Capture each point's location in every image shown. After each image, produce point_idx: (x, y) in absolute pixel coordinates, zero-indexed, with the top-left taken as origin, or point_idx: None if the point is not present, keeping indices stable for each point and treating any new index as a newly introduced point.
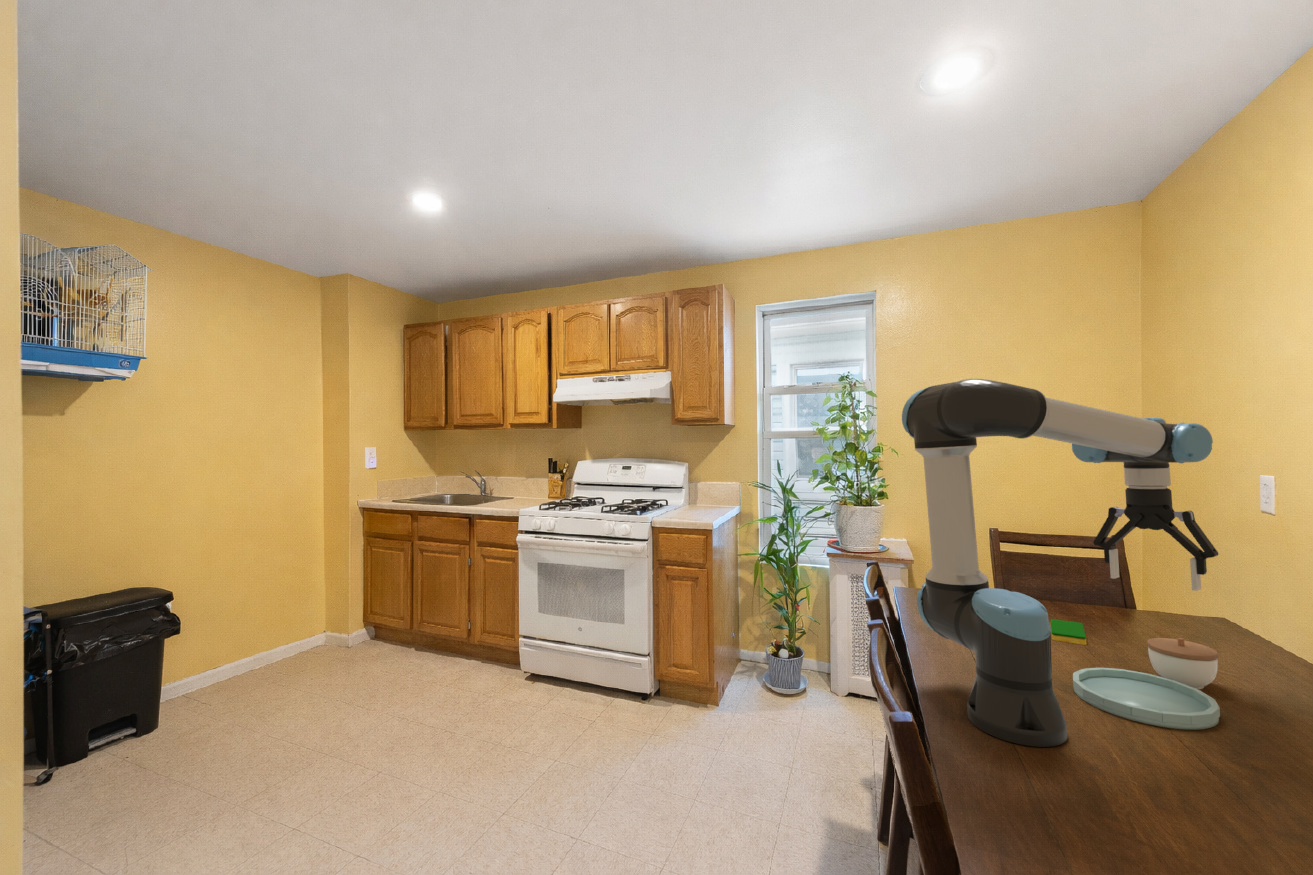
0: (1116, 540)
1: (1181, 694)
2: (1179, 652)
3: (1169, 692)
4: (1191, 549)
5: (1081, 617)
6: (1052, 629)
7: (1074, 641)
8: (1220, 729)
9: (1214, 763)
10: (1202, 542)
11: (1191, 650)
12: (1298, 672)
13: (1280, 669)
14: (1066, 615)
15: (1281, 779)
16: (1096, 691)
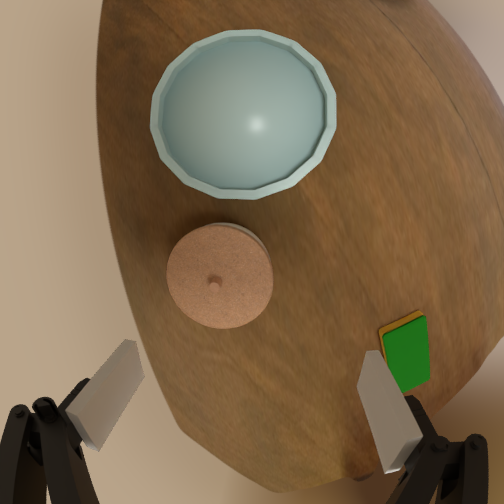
0: (405, 493)
1: (207, 174)
2: (205, 230)
3: (220, 167)
4: (50, 444)
5: None
6: (426, 332)
7: (394, 324)
8: None
9: (147, 21)
10: (6, 451)
11: (195, 261)
12: (170, 404)
13: (182, 403)
14: None
15: (107, 45)
16: (291, 77)
